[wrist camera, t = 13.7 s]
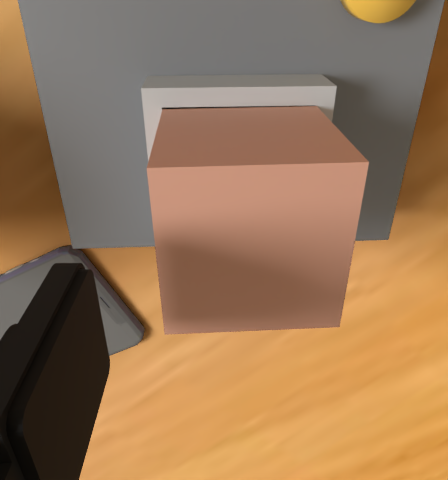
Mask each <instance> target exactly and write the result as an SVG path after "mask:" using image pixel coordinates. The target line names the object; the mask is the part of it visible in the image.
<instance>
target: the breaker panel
mask: <svg viewBox="0 0 448 480" xmlns="http://www.w3.org/2000/svg"><path fill="white" fill-rule="evenodd" d="M444 1H445V0H18V3H19V8H20V12H21V17H22V21H23V26H24V31H25V35H26V40H27V44H28V49H29V53H30V58H31V62H32V67H33V71H34V76H35V80H36V85H37V89H38V94H39V98H40V103H41V108H42V112H43V117H44V121H45V126H46V130H47V135H48V139H49V144H50V148H51V153H52V157H53V162H54V166H55V171H56V175H57V180H58V185H59V189H60V194H61V198H62V203H63V207H64V212H65V216H66V221H67V225H68V230H69V234H70V239H71V243H72V248H73V249H79V248H115V247H150V246H155V241H154V231H153V222H152V213H151V204H150V195H149V185H148V176H147V165H148V161H149V157H150V154H151V150H152V146H153V143H154V139H155V135H156V132H157V128H158V124H159V120H160V117H161V113H162V109H180V107H235V106H289V107H291V106H317V107H318V108H319V109H320V110H321V111H322V112H323V113H324V114H325V115H326V117H327V118H328V119H329V120H330V121H331V122H332V123H333V124H334V125H335V126H336V127H337V128H338V129H339V130H340V132H341V133H342V134H343V135H344V136H345V137H346V138H347V139H348V140H349V141H350V142H351V143H352V144H353V145H354V146H355V148H356V149H357V150H358V151H359V152H360V153H361V154H362V155H363V156H364V157H365V158H366V159H367V160H368V161H369V165H368V171H367V176H366V182H365V188H364V193H363V199H362V204H361V210H360V215H359V221H358V227H357V232H356V238H355V241H363V240H388V239H389V234H390V230H391V226H392V222H393V217H394V213H395V209H396V205H397V200H398V196H399V192H400V188H401V183H402V179H403V175H404V171H405V166H406V162H407V158H408V154H409V149H410V145H411V141H412V137H413V132H414V128H415V124H416V120H417V115H418V111H419V107H420V103H421V98H422V94H423V90H424V86H425V81H426V77H427V73H428V69H429V64H430V60H431V56H432V52H433V47H434V43H435V39H436V35H437V30H438V26H439V22H440V18H441V13H442V9H443V5H444Z"/></svg>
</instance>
